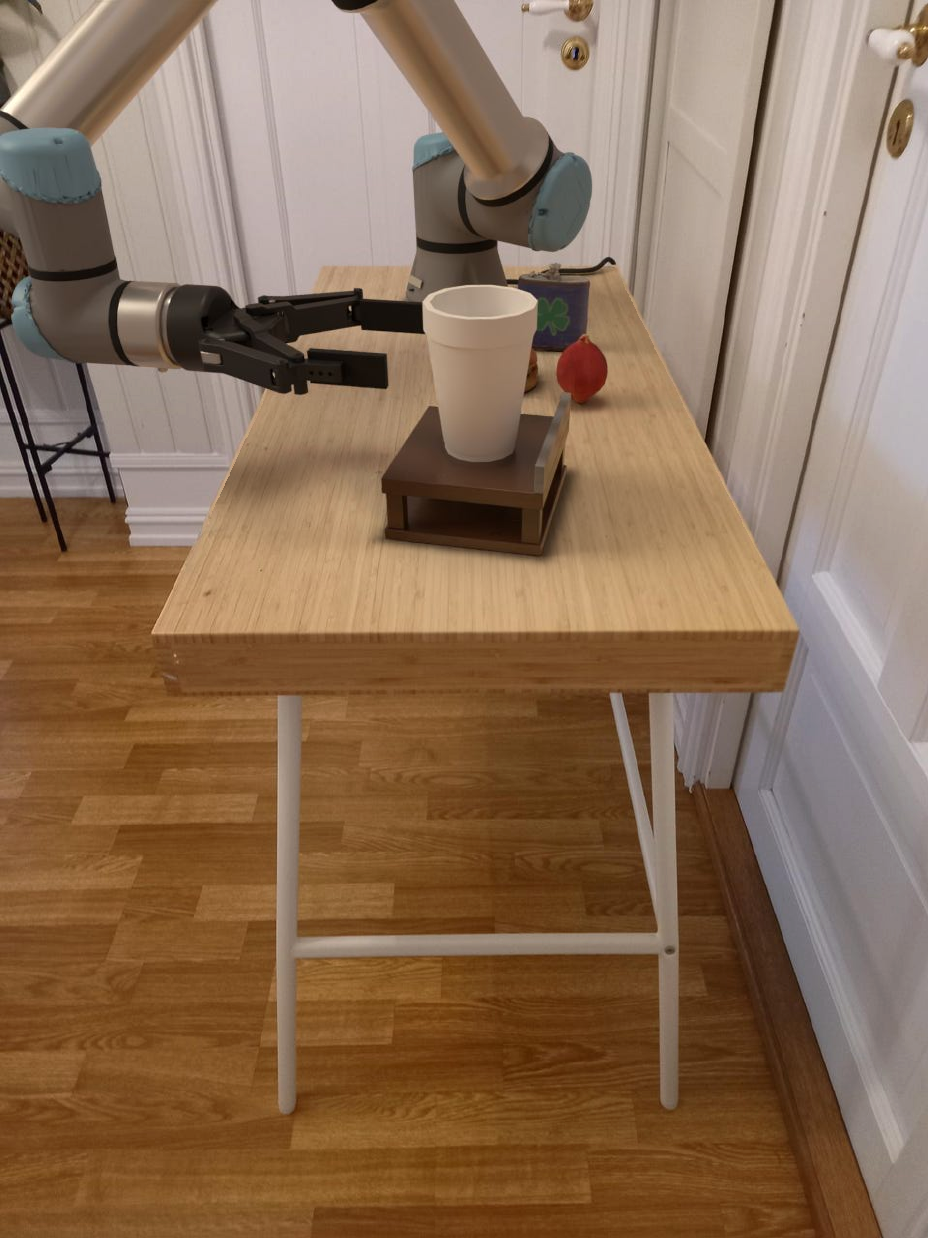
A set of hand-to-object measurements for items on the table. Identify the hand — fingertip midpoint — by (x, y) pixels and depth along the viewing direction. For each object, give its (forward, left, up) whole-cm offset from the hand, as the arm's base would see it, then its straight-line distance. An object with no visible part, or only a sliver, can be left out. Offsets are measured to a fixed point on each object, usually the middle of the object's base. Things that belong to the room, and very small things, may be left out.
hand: (409, 343), depth 81 cm
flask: (-44, -7, -15) cm, 47 cm away
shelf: (-2, +6, -15) cm, 16 cm away
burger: (-30, -7, -15) cm, 34 cm away
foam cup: (-2, +6, -9) cm, 11 cm away
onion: (-29, +4, -15) cm, 33 cm away
